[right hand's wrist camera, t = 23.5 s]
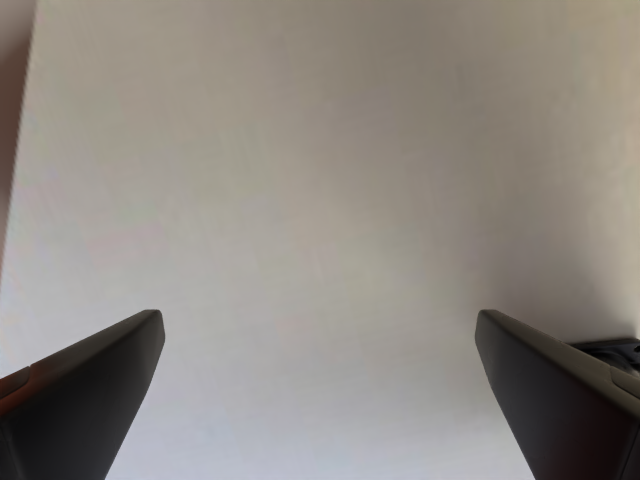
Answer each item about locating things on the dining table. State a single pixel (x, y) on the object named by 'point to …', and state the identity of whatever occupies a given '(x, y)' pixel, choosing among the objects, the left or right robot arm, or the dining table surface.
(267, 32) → the dining table surface
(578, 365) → the right robot arm
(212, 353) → the dining table surface
